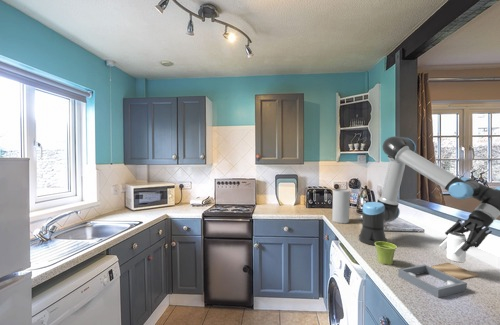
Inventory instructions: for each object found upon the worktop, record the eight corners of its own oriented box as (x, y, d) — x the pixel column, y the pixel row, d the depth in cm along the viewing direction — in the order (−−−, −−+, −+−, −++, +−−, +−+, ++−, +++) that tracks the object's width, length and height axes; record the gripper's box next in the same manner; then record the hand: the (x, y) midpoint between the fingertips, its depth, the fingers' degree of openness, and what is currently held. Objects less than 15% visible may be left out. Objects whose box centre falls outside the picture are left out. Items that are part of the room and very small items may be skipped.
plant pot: (387, 268, 108) (388, 249, 107) (369, 259, 116) (370, 242, 116) (400, 264, 111) (401, 246, 111) (382, 256, 120) (383, 240, 120)
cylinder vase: (352, 222, 182) (353, 191, 181) (340, 224, 177) (341, 191, 176) (340, 218, 193) (340, 188, 193) (328, 220, 188) (329, 189, 187)
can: (446, 255, 110) (447, 230, 110) (464, 259, 106) (465, 233, 105) (446, 260, 105) (447, 233, 105) (466, 264, 101) (467, 237, 100)
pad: (430, 266, 110) (430, 265, 110) (448, 263, 113) (448, 262, 113) (460, 279, 98) (460, 278, 98) (478, 275, 102) (478, 274, 102)
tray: (398, 276, 101) (398, 269, 101) (424, 271, 106) (424, 264, 106) (437, 297, 85) (438, 289, 85) (466, 290, 90) (466, 283, 90)
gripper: (514, 227, 96) (475, 267, 96) (467, 215, 115) (435, 248, 115) (502, 215, 96) (464, 254, 95) (458, 205, 115) (425, 238, 114)
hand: (448, 251), depth 105 cm, fingers closed on can, 6 cm apart
